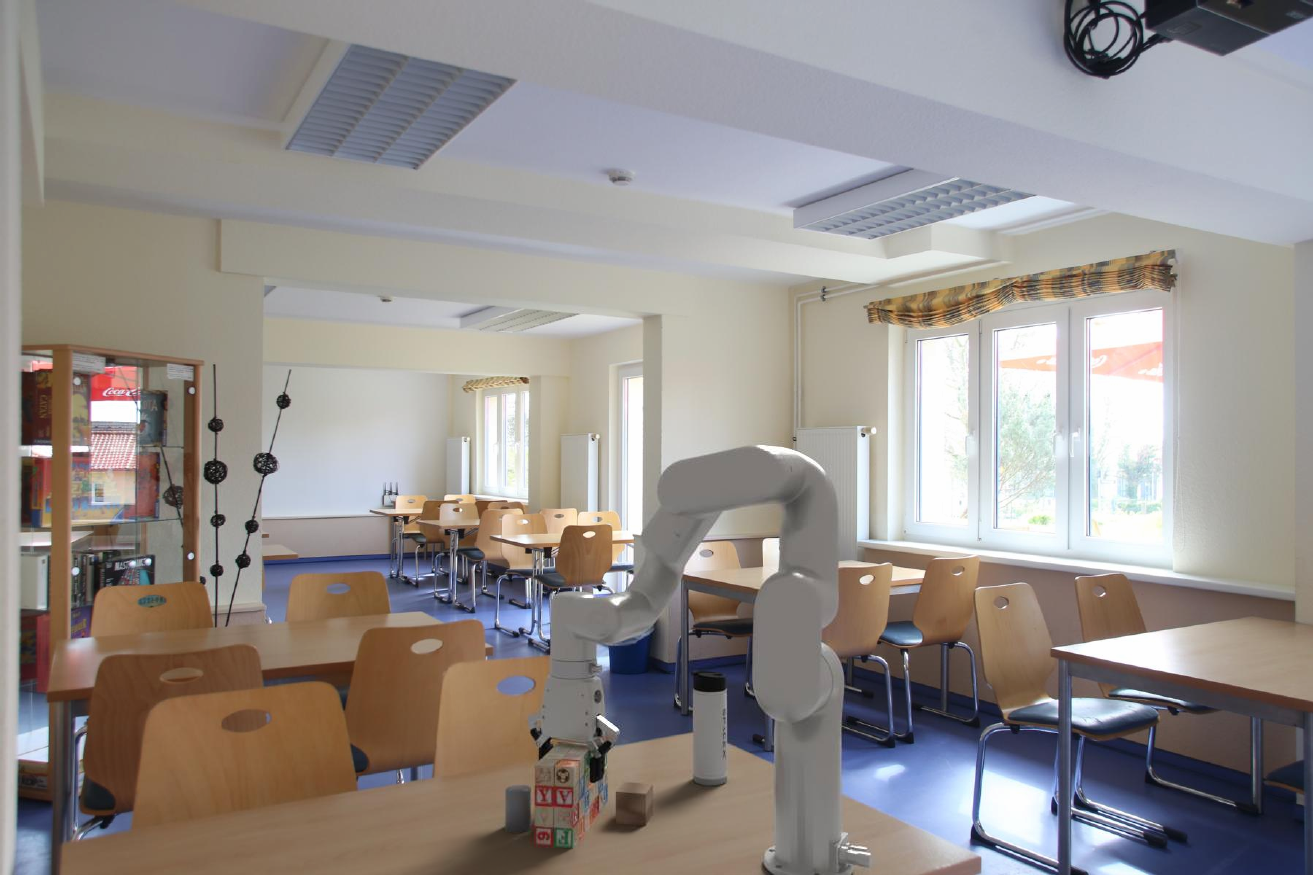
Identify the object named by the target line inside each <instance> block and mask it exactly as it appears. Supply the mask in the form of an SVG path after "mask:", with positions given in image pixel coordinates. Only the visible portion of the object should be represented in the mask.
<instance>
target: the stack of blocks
mask: <svg viewBox="0 0 1313 875" xmlns="http://www.w3.org/2000/svg"><path fill="white" fill-rule="evenodd" d="M553 746H554V747H553V748H552V749H551V750H550V751H549V753H547V754H546V755H545V756H544V757H543V758H542V759H540V760H539V759H538V760H539V761H537V762H536V763H535V765H534V825H533V826H534V829H533V830H534V833H533V834H534V839H533V845H534V846H537V847H550V848H564V849H574V848H575V847H576V845H577V844H578V842H579V841H581V838H583V837H584V835H585V833H586V832H587V831H588V829H589V828H590V826H591V824H592V823H593V821H594V819H595V818H596V817H597V815H598V813H600V812H601V810H602V809H603V807H605V805H606V804H607V801H608V796H609V794H608V792H609V788H608V784H609V783H608V781H609V779H608V778H609V776H608V774H609V771H608V770H609V768H608V767H609V766H608V753H607V754H605V773H604V775H603V778H602V779H601V780H599V781H597V782H596V783H591V782H590V758H591V757H593V754H592V753H591V751H590V749H589V748H588V746H587V744H581V743H575V742H569V741H558V742H557V743H556V744H555V745H553Z"/></svg>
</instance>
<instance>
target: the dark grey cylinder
mask: <svg viewBox="0 0 1313 875" xmlns="http://www.w3.org/2000/svg"><path fill="white" fill-rule="evenodd" d="M504 792H505V799H504V800H505V807H504V809H505V815H504V816H505V818H504V830H506V831H507V832H510V833H513V834H514V833H524V832H527V831H529V830H530V829H531V827H532V818H531V817H532V787H531V786H529V785H525V784H514V785H510V786H508V787H505V791H504Z"/></svg>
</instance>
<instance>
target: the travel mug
mask: <svg viewBox="0 0 1313 875" xmlns="http://www.w3.org/2000/svg"><path fill="white" fill-rule="evenodd" d="M690 674H691V676H692V677H693V678H692V680H693V681H692V684H693V685H692V687H693V688H692V771H693V772H692V780H693V781H694V782H695V784H698V785H701V786H712V787H713V786H721V785H724V784H725V783H727V781H728V772H727V771H728V720H727V719H728V715H727V714H728V708H727V707H728V699H727V696H728V694H727V691H728V688H727V676H726V675H723V674H722V673H720V672H715V671H710V670H691V672H690Z"/></svg>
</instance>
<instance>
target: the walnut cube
mask: <svg viewBox="0 0 1313 875" xmlns="http://www.w3.org/2000/svg"><path fill="white" fill-rule="evenodd" d="M653 815H654V784H653V783H646V782H645V783H644V782H643V783H642V782H630V781H623V782H622V783H621V784H620V786H619V787H618V788H617V790H615V824H623V825H624V824H625V825H634V826H635V825H637V826H638V825H639V826H647V825H648V823H649V822H650V820H651V818H652V816H653Z"/></svg>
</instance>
